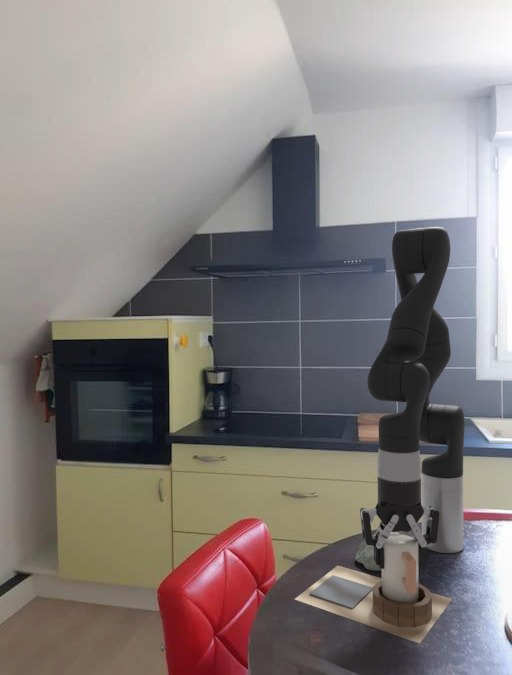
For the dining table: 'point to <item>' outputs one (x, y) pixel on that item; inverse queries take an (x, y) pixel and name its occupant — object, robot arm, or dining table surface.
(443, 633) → the dining table surface
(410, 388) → the robot arm
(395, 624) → the serving board
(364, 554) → the decorative stone
